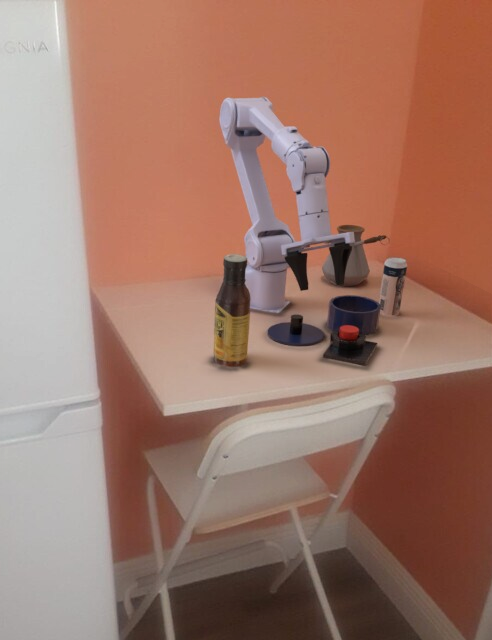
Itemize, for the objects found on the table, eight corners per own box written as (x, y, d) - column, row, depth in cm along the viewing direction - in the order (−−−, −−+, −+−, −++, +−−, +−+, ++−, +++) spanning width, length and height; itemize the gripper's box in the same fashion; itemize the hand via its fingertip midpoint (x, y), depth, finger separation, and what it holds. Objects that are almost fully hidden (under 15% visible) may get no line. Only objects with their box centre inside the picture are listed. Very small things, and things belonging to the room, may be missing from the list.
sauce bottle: (211, 355, 132) (214, 250, 122) (244, 355, 132) (250, 250, 122) (214, 370, 126) (218, 262, 116) (249, 370, 127) (255, 262, 117)
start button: (355, 342, 133) (356, 333, 132) (336, 338, 134) (337, 330, 133) (359, 335, 135) (361, 327, 135) (341, 332, 137) (342, 323, 136)
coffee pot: (312, 275, 175) (319, 214, 167) (353, 272, 178) (361, 211, 170) (354, 304, 158) (363, 238, 150) (398, 300, 161) (409, 234, 153)
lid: (259, 342, 138) (260, 320, 136) (277, 323, 147) (279, 302, 144) (313, 353, 134) (316, 331, 132) (329, 333, 143) (332, 312, 141)
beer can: (399, 319, 151) (408, 264, 145) (376, 316, 151) (385, 262, 145) (398, 311, 155) (407, 257, 149) (376, 309, 155) (384, 255, 149)
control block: (364, 368, 129) (367, 353, 127) (320, 359, 131) (321, 345, 130) (377, 348, 137) (379, 334, 135) (334, 340, 140) (336, 326, 138)
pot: (320, 332, 143) (323, 307, 140) (334, 316, 151) (337, 292, 148) (370, 341, 139) (374, 316, 137) (381, 324, 148) (385, 300, 145)
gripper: (270, 222, 134) (279, 294, 136) (339, 206, 125) (348, 283, 128) (287, 222, 139) (296, 291, 142) (355, 207, 131) (363, 281, 133)
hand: (322, 287), depth 135 cm, fingers open, 7 cm apart
